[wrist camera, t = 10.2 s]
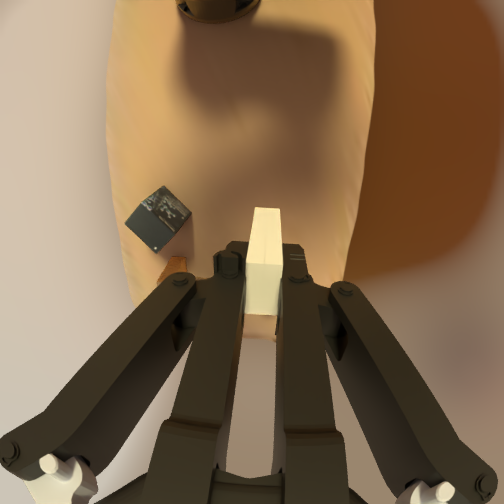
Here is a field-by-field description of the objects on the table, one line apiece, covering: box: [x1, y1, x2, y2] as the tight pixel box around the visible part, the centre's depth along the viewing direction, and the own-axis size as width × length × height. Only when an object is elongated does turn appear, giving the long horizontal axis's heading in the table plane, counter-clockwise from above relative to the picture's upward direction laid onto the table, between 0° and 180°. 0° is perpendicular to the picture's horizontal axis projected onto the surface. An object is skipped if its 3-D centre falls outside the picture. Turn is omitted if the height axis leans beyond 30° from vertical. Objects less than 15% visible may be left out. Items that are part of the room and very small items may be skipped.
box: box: [125, 186, 191, 254], centre depth 47 cm, size 8×6×11 cm
